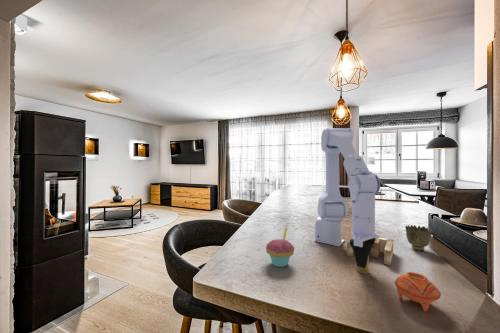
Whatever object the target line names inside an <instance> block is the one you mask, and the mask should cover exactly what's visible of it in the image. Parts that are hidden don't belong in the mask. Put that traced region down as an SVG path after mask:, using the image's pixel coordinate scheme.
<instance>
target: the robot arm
mask: <svg viewBox="0 0 500 333" xmlns="http://www.w3.org/2000/svg"><path fill="white" fill-rule="evenodd" d="M353 140H354V131H353V130H352V128H350V127H347V128H340V127H339V128H335V127H334V128H331V127H330V128H328V127H325V128H324V129H323V130H322V132H321V136H320V141H321V145H320V147H321V151H323V152H325V193H323V195H322V196H320V197H319V198H318V204H317V215H318V217H317V218H316V219H315V224H314V225H315V226H314V227H315V228H314V229H315V230H314V232H315V233H314V234H315V237H314V242H318V243H321V244H327V245H332V246H335V247H340V246H342V244H343V243H344V242H345V239H343V238H342V235H343V234H342V228H343V226H342V225H343V221H344V219H345V218H346V217H347V215H348V207H347V203H346V199H345V198H344V197H343V196H341V195H340V154H341V155H342V156H343V159H344V160H343V164H342V165H343V167H344V169H345V172H346V175H347V176H348V179H349V180H348V183H347V184H348V190H349V195H350V196H349V197H350V200H351V203H352V204H351V230H350V234H351V237H352V236H353V238H354V239H351V240H350V245H351V247H352V249H353V251H354V257H355V258H354V259H355V263H356V267H357V266H358V267H362V268H366V265H367V261H368V255H369V257H370V252H371V248H372V247H373V244H374V242H375V240H376V238H379V237H380V233H376V232H375V230H376V229H375V228H376V227H375V226H376V195H377V194H378V193H379V192H380V190H381V182H380V178H379V176H378V174H376V173H374V172H372V171H370V170H369V168H368V166H367V164H366V162H365V160H364V159H363V157H362V156H361V155H360V154H357V152H356V150H355V147H354V143H353ZM380 238H381V237H380ZM370 258H371V257H370Z"/></svg>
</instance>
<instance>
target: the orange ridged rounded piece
mask: <svg viewBox="0 0 500 333" xmlns="http://www.w3.org/2000/svg"><path fill="white" fill-rule="evenodd" d="M394 285H395V286H396V292H397V295H398V298H399V299H402V298H403V296H404V297H405V298H407V299H408V300H410V301H412V302H415V303H419V304H420V305H421V307H422V310H423V312H424V313H427V312H428V311H429V308H430V304H431V303H434V302H436V301H438V300H439V299H440V298H441V291H440V289H439V288H438V287H437V286H436V285H435V284H434V283H433V282H432V281H430V280H429V279H428V277H427V276H426V275H424V274H421V273H418V272H412V271H408V272H406V273H404V274H401V275H399V276H398V277H397V278H396V279H395V281H394Z"/></svg>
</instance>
